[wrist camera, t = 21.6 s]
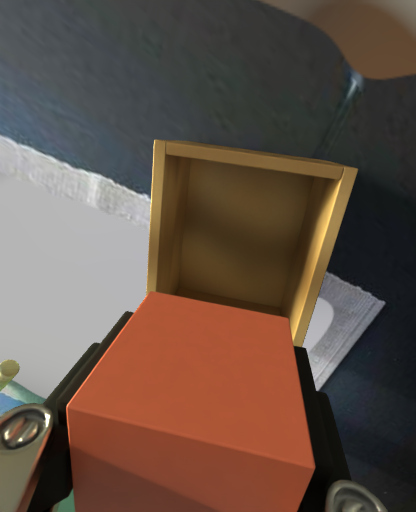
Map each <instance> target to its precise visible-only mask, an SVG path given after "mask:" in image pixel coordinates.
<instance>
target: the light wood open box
mask: <svg viewBox="0 0 416 512" xmlns="http://www.w3.org/2000/svg"><path fill="white" fill-rule="evenodd" d="M357 172H358V169H357V168H353V167H349V166H345V165H341V164H337V163H333V162H329V161H325V160H318V159H311V158H304V157H297V156H290V155H283V154H276V153H269V152H262V151H255V150H248V149H241V148H233V147H226V146H219V145H212V144H205V143H198V142H191V141H176V140H154V157H153V176H152V195H151V214H150V233H149V253H148V272H147V291H146V296H147V295H148V293H149V292H150V291H153V292H159V293H164V294H169V295H174V296H179V297H184V298H189V299H194V300H199V301H204V302H209V303H214V304H219V305H224V306H230V307H235V308H240V309H245V310H250V311H255V312H260V313H265V314H270V315H275V316H280V317H285V318H288V319H289V323H290V329H291V334H292V340H293V345H294V346H298V347H302V345H303V342H304V339H305V336H306V332H307V330H308V326H309V323H310V320H311V317H312V314H313V311H314V307H315V304H316V301H317V298H318V295H319V292H320V289H321V285H322V282H323V279H324V276H325V273H326V270H327V266H328V263H329V260H330V257H331V254H332V251H333V248H334V244H335V241H336V238H337V235H338V232H339V229H340V225H341V222H342V219H343V216H344V213H345V210H346V207H347V203H348V200H349V197H350V194H351V191H352V188H353V184H354V181H355V178H356V175H357Z"/></svg>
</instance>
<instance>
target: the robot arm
mask: <svg viewBox="0 0 416 512" xmlns="http://www.w3.org/2000/svg"><path fill="white" fill-rule="evenodd" d="M133 314H134V313H133V312H128V311H127V312H125V313H124V314H123V316H122V317H121V318H120V319H119V321H118V322H117V323H116V324H115V326H114V327H113V328H112V330H111V331H110V332H109V333H108V335H107V336H106V337H105V338H104V340H103V341H102V342H101V343H93V344H92V345H91V346H90V347H89V348H88V350H87V351H86V352H85V353H84V354H83V356H82V357H81V358H80V359H79V361H78V362H77V363H76V364H75V365H74V367H73V368H72V369H71V370H70V371H69V373H68V374H67V375H66V377H65V378H64V379H63V380H62V381H61V382H60V384H59V385H58V386H57V387H56V388H55V390H54V391H53V392H52V393H51V394H50V396H49V397H48V398H47V399H46V401H45V402H44V403H43V404H37V403H30V404H24V405H21V406H18V407H15V408H13V409H11V410H9V411H7V412H5V413H4V414H3V415H2V416H0V512H57V511H58V507H59V504H60V501H62V500H64V499H66V498H67V497H69V495H70V493H71V491H72V489H73V482H72V470H71V458H70V446H69V435H68V423H67V411H66V407H67V405H68V403H69V402H70V400H71V399H72V398H73V396H74V395H75V394H76V392H77V391H78V389H79V388H80V387H81V385H82V384H83V383H84V381H85V380H86V378H87V377H88V376H89V374H90V373H91V372H92V370H93V369H94V368H95V366H96V365H97V363H98V362H99V361H100V359H101V358H102V357H103V355H104V354H105V352H106V351H107V350H108V348H109V347H110V346H111V344H112V343H113V341H114V340H115V339H116V337H117V336H118V335H119V333H120V332H121V330H122V329H123V328H124V326H125V325H126V324H127V322H128V321H129V319H130V318H131V317H132V315H133ZM294 351H295V356H296V362H297V368H298V373H299V379H300V384H301V390H302V395H303V401H304V406H305V412H306V417H307V423H308V429H309V434H310V440H311V445H312V451H313V456H314V462H315V470H314V473H313V475H312V477H311V480H310V482H309V484H308V487H307V489H306V491H305V494H304V496H303V499H302V501H301V503H300V506H299V508H298V510H297V512H388V511H387V510H386V508H385V507H384V506H383V504H382V503H381V502H380V500H379V499H378V498H377V497H376V496H375V495H374V494H373V493H372V492H370V491H369V490H368V489H367V488H365V487H363V486H362V485H360V484H359V483H356V482H353V481H352V480H351V477H350V473H349V469H348V466H347V462H346V459H345V455H344V452H343V448H342V444H341V441H340V437H339V434H338V430H337V427H336V423H335V419H334V416H333V412H332V409H331V405H330V401H329V398H328V396H327V394H326V393H323V392H319V391H316V388H315V384H314V380H313V376H312V371H311V367H310V363H309V359H308V354H307V351H306V348H303V347H298V346H294Z"/></svg>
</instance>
